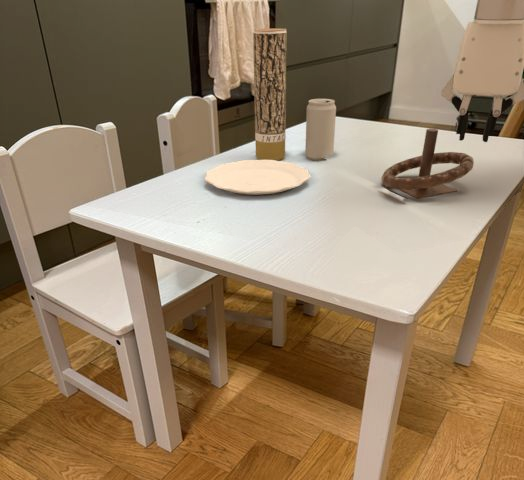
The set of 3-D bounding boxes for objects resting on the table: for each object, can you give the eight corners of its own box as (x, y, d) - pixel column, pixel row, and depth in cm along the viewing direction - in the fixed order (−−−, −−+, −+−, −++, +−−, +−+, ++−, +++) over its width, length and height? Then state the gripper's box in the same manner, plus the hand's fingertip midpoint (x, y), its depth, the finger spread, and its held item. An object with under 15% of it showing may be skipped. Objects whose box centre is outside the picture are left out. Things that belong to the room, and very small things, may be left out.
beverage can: (329, 162, 112) (333, 103, 105) (301, 160, 113) (303, 102, 106) (335, 155, 116) (339, 98, 109) (308, 153, 118) (310, 97, 111)
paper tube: (250, 156, 116) (247, 29, 102) (276, 152, 119) (276, 28, 104) (264, 163, 112) (262, 31, 97) (290, 159, 114) (292, 29, 99)
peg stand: (424, 183, 99) (435, 122, 93) (456, 196, 93) (470, 132, 86) (387, 189, 96) (395, 127, 90) (417, 204, 90) (428, 138, 83)
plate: (239, 162, 112) (239, 155, 111) (325, 175, 104) (325, 166, 103) (185, 189, 98) (184, 181, 97) (280, 206, 89) (280, 197, 88)
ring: (432, 158, 101) (432, 148, 100) (493, 166, 88) (493, 154, 87) (366, 184, 97) (364, 174, 96) (419, 196, 84) (418, 184, 83)
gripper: (557, 10, 77) (522, 137, 87) (445, 11, 81) (425, 131, 92) (565, 12, 71) (526, 148, 82) (444, 13, 75) (422, 141, 86)
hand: (473, 138), depth 87 cm, fingers open, 3 cm apart
